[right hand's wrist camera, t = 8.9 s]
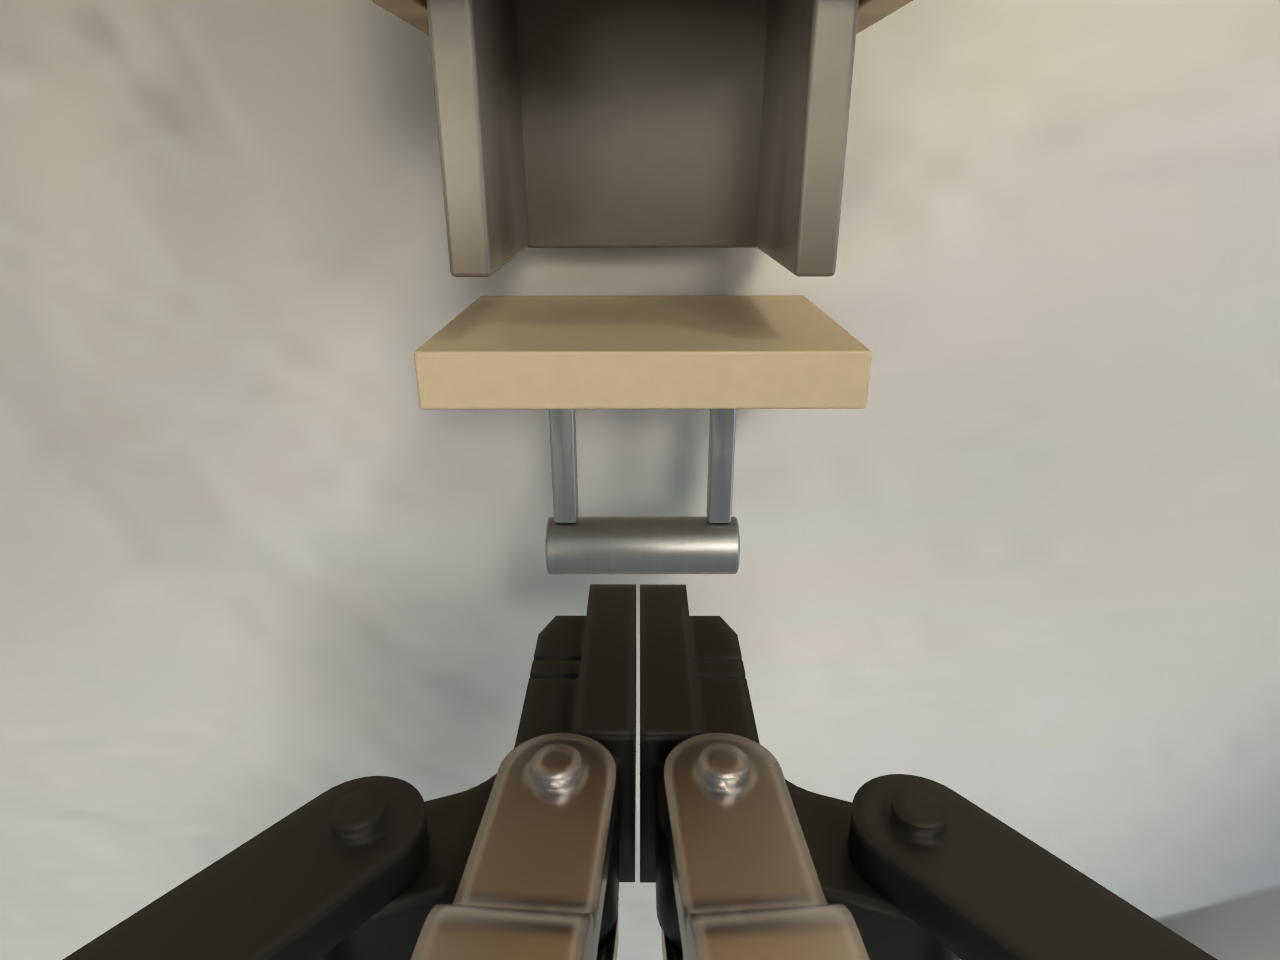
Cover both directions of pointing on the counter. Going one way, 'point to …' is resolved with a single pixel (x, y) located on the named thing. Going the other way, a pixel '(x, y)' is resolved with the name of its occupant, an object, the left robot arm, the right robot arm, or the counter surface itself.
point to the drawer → (642, 228)
